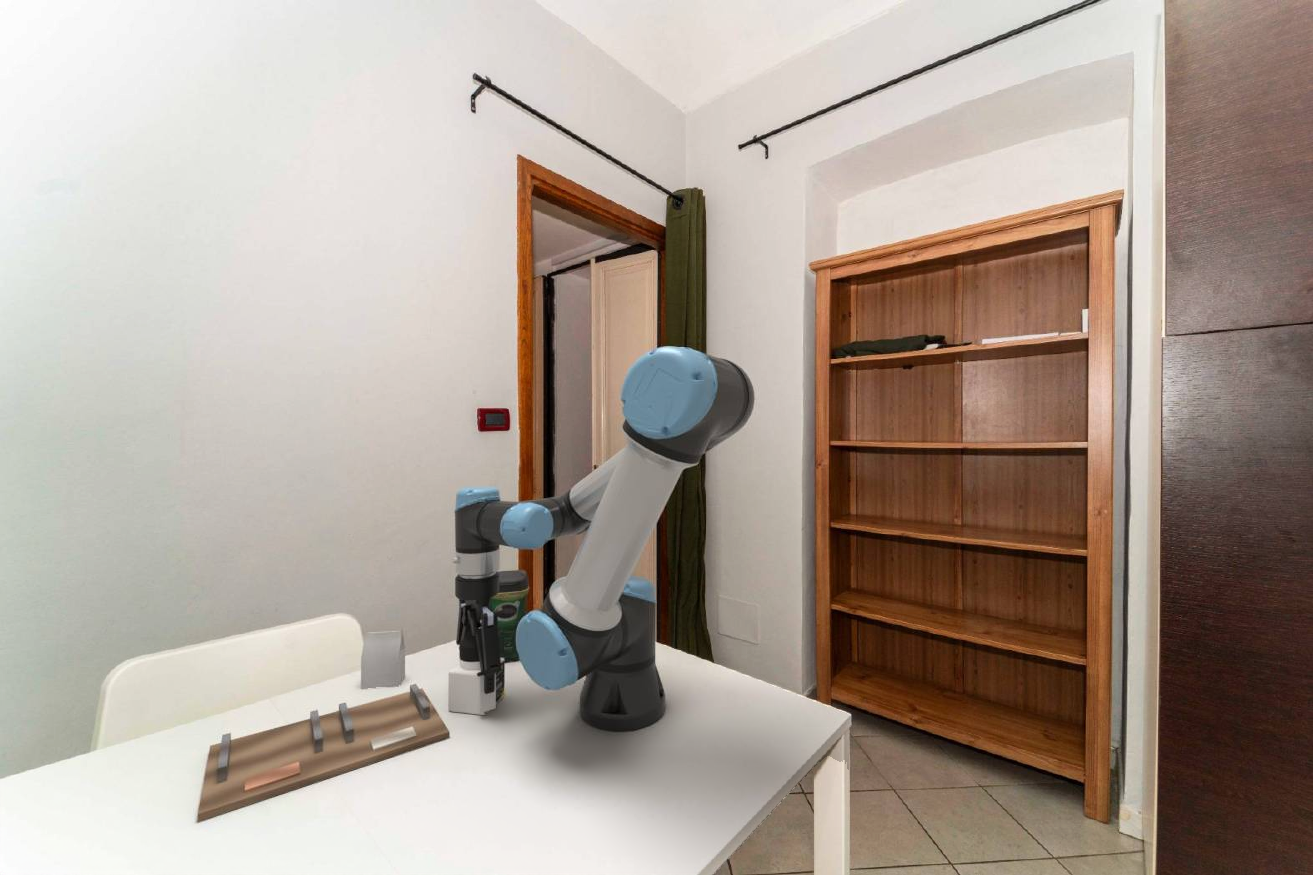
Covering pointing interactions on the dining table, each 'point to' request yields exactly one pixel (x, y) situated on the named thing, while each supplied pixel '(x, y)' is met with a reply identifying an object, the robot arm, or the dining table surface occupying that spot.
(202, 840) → the dining table surface
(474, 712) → the medicine bottle
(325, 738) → the stand
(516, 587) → the coffee jar
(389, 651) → the grey boxy piece
